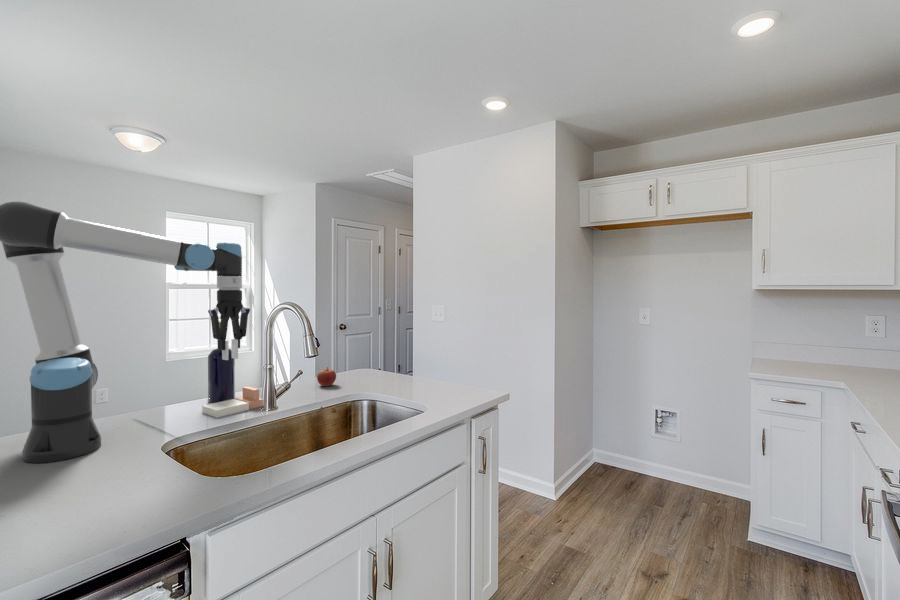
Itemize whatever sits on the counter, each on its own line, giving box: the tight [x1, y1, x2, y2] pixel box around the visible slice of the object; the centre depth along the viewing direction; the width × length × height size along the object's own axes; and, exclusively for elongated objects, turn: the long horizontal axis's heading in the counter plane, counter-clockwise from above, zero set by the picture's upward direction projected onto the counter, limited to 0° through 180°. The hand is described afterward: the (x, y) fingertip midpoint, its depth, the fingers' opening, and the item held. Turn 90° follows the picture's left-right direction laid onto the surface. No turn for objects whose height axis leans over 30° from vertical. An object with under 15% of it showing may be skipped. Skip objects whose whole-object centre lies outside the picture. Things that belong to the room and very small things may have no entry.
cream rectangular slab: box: [201, 397, 250, 418], centre depth 145 cm, size 11×9×2 cm
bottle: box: [207, 320, 236, 404], centre depth 158 cm, size 9×9×30 cm
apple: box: [316, 367, 337, 387], centre depth 188 cm, size 8×8×8 cm
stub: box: [235, 386, 264, 410], centre depth 152 cm, size 5×9×6 cm, turn 55°
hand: (230, 358), depth 146 cm, fingers open, 3 cm apart
